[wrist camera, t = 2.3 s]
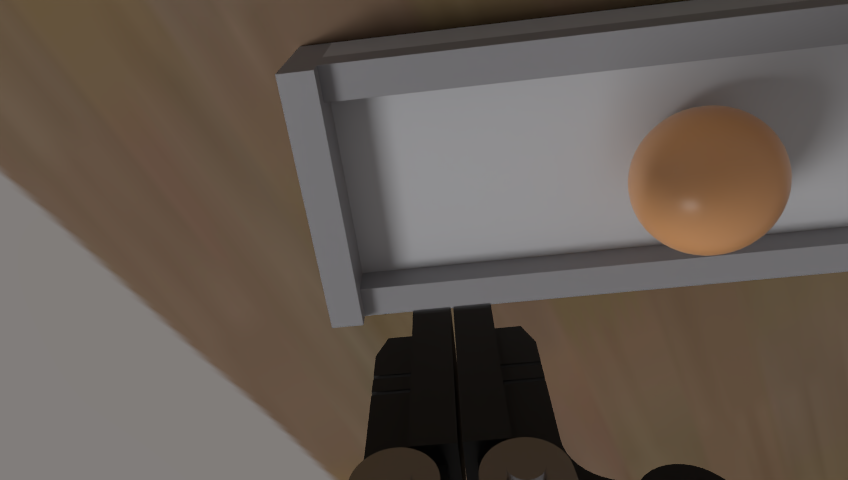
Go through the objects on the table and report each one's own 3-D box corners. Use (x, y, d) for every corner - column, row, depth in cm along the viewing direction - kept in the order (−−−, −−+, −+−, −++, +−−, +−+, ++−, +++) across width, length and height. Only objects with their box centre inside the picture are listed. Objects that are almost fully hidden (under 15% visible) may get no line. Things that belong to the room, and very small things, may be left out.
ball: (613, 95, 18) (658, 144, 14) (757, 80, 18) (840, 124, 14) (610, 221, 20) (649, 291, 16) (740, 208, 20) (809, 276, 16)
